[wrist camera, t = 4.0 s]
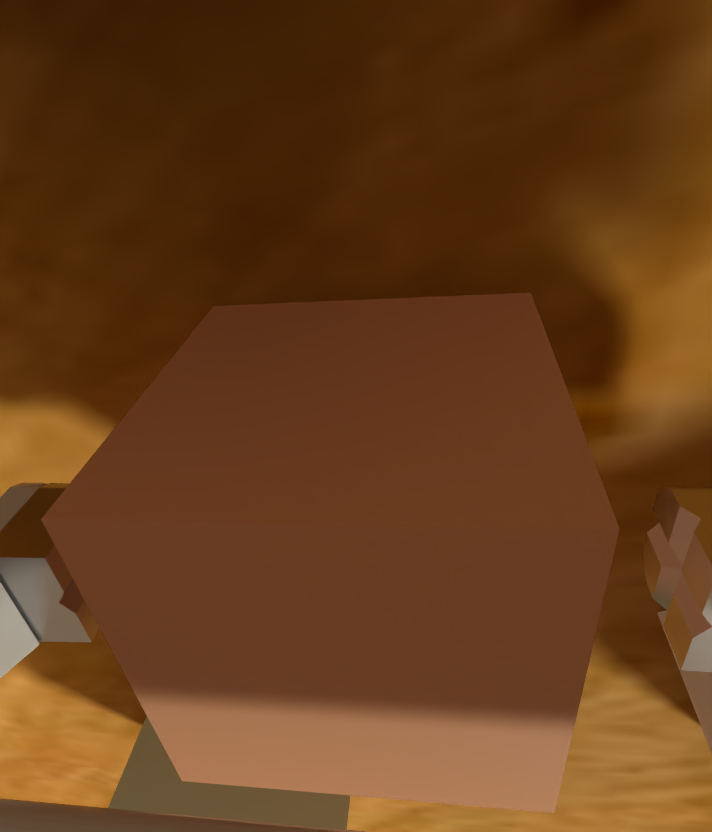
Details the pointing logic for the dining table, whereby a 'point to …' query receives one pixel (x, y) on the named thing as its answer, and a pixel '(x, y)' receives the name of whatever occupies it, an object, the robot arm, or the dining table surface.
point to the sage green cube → (216, 793)
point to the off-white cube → (697, 691)
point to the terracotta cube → (352, 550)
